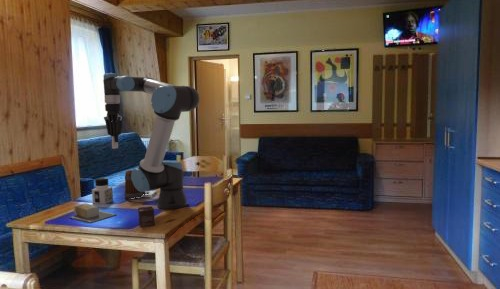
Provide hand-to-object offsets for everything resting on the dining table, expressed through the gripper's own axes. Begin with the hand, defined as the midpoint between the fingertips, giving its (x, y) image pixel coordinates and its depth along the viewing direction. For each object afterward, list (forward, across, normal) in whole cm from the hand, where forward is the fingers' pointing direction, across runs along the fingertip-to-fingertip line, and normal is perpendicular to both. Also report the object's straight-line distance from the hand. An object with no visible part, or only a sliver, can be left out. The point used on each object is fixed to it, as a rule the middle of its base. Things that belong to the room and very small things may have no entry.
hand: (115, 148), depth 203 cm
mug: (+30, 0, -14) cm, 33 cm away
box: (+30, -43, +19) cm, 56 cm away
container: (+30, +9, +3) cm, 31 cm away
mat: (+29, -11, +23) cm, 39 cm away
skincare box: (+27, -1, +23) cm, 36 cm away
